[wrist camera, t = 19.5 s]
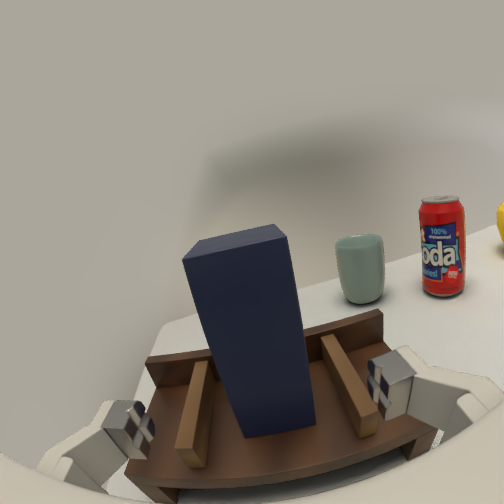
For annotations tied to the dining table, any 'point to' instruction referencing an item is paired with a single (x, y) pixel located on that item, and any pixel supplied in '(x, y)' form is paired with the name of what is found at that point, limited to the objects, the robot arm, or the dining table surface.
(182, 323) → the dining table surface
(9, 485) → the robot arm
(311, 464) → the wooden divided tray
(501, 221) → the vase
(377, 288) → the cup
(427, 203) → the soda can
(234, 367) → the navy block
